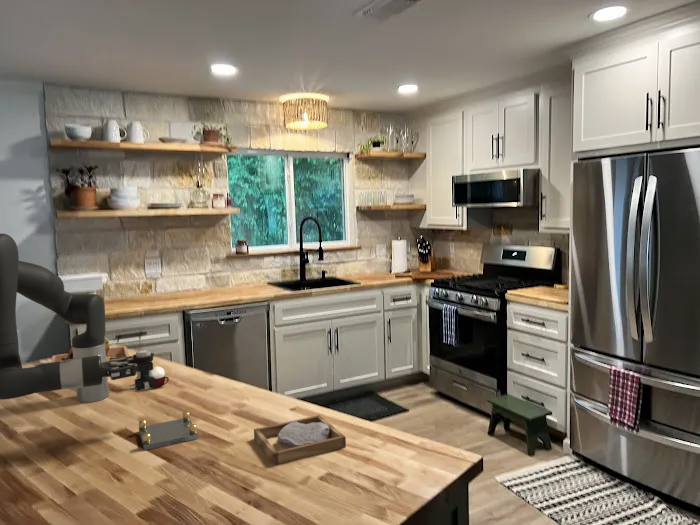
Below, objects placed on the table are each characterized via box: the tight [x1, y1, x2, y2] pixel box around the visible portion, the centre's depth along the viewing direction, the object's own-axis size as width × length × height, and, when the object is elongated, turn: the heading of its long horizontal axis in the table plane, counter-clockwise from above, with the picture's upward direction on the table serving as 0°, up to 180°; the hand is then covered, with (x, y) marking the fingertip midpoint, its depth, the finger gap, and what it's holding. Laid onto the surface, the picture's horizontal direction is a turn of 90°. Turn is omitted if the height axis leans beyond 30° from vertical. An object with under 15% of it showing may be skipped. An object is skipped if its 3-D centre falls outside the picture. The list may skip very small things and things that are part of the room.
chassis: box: [138, 411, 199, 451], centre depth 140 cm, size 13×13×3 cm
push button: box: [129, 349, 155, 391], centre depth 143 cm, size 7×5×10 cm
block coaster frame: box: [253, 414, 347, 465], centre depth 132 cm, size 16×18×2 cm
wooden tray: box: [50, 345, 130, 371], centre depth 206 cm, size 30×27×3 cm
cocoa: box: [150, 365, 170, 389], centre depth 180 cm, size 10×6×12 cm, turn 59°
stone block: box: [277, 420, 330, 448], centre depth 133 cm, size 12×5×10 cm
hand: (151, 363), depth 144 cm, fingers closed on push button, 5 cm apart
